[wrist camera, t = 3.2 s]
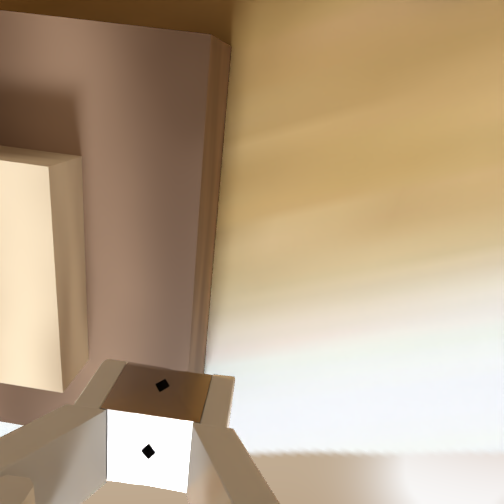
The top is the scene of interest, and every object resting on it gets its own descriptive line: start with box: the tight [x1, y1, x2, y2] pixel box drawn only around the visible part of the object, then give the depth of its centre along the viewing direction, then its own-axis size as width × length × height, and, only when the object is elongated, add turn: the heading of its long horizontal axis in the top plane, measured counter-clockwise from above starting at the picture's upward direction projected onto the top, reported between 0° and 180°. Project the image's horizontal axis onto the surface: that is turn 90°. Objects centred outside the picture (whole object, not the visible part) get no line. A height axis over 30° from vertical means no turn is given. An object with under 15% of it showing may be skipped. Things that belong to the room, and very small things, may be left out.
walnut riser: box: [0, 10, 231, 425], centre depth 17 cm, size 14×16×4 cm
